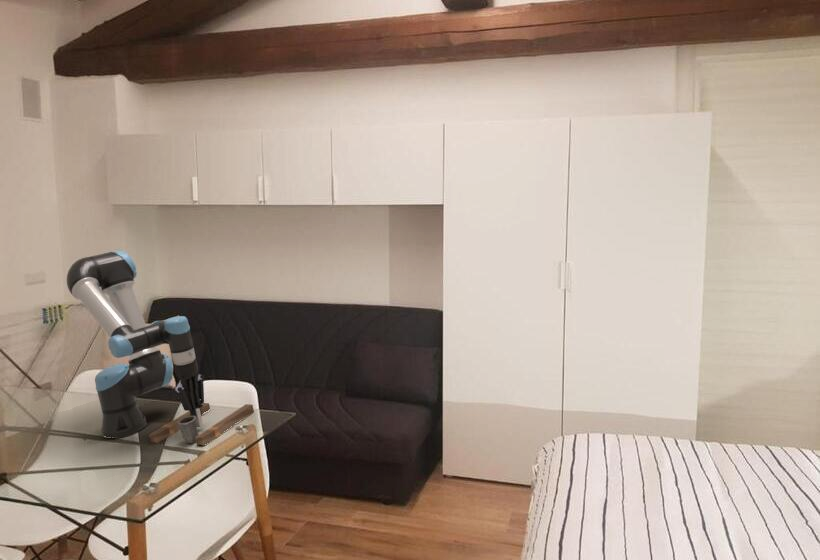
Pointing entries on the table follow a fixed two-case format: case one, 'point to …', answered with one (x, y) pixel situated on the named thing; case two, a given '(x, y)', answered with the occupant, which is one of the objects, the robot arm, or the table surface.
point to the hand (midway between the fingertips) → (198, 426)
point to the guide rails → (209, 433)
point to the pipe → (188, 428)
